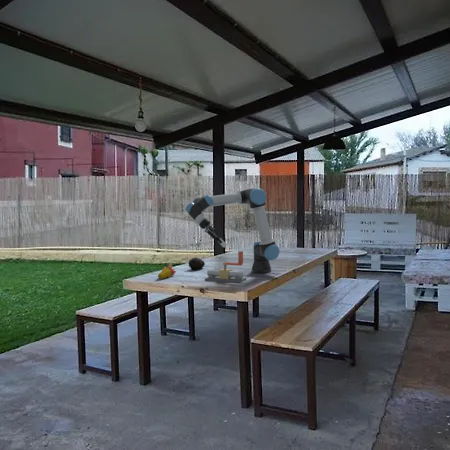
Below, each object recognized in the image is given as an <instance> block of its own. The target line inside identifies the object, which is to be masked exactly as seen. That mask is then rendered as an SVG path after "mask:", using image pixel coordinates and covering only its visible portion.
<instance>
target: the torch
mask: <svg viewBox="0 0 450 450" xmlns="http://www.w3.org/2000/svg"><path fill="white" fill-rule="evenodd" d="M172 264H173V263H172V262H170V263H168V265H167V266H165V267H163V268H162V269H161V271H160V272H159V273H158V275H157V277H158V279H166V278H167V277H169V278H170V277H171V276H174V275H175V274H176V272H177V271H176V269H175V268H173V265H172ZM167 279H168V278H167Z"/></svg>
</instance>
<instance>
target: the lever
mask: <svg viewBox="0 0 450 450" xmlns="http://www.w3.org/2000/svg"><path fill="white" fill-rule="evenodd" d="M237 254H238V255H237V256H238V257H237V258H238V259H237V261H238V262H232V261H231V262H230V261H229V262H228V261H223V262H222V265H223V266H224V265H227V266H243V264H244V251H241V250H240V251H239V250H238V253H237Z"/></svg>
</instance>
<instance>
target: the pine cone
mask: <svg viewBox="0 0 450 450" xmlns="http://www.w3.org/2000/svg"><path fill="white" fill-rule="evenodd" d="M205 264H206V263H205V261H204V260H202V259H201V258H199V257H193V258H191V259H189V261H188V267H189V268H190V271H194V272H195V271H201V270H204V269H205V268H204V267H205Z"/></svg>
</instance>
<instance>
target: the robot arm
mask: <svg viewBox="0 0 450 450" xmlns="http://www.w3.org/2000/svg"><path fill="white" fill-rule="evenodd" d="M266 200H267V194H266V192H265V190H263V189H262V188H258V187H255V188H247V189H244V190H239V191H236V192H234V193H227V194H226V193H225V194H217V195H209V194H206V195H204V196H201V197H195V198H194V199H193V200H192V202H189V203H188V204H186V206H185V212H186V213H187V214H188V215H189V216H190V217H191V219H193V221H194V222H195V224H197V225H198V226H199V227H200V228H201V229H202V230H203V229H204V232H205V233H207V234H208V236H210V237H211V238H212V239H213V240H214V241H215V242H218V243H219V245H220V246H221V248H226V247H227V245H228V244H227V243H226V242H225V241H224V240H223V238H222V236H221V234H220V233H219V231H218V230H217V229H216V227H215V226H214V227H213V226H212V225H211V221H210V220H209V218H208V217H207V216H206V215H205V214H204V213H203V212H204V211H205V210H207V209H209V207H217V206H223V205H224V206H225V205H234V204H238V205H244V204H245V205H249V209H250V210H252V212H253V215H254V216H253V217H254V219H255V224H256V228H257V231H258V236H259V240H260V241H254V242H253V246H252V247H253V262H252V266H251V272H252V273H263V274H264V273H265V274H266V273H271V272H272V266H271V263H270V261H274V260H276V259H277V258H278V257H279V255H280V248H279V246H277V244H276V241H275V239H274V238H273V237H272V233H271V229H270V225H269V221H268V217H267V212H266V209H265V208H266V205H267V204H266Z"/></svg>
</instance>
